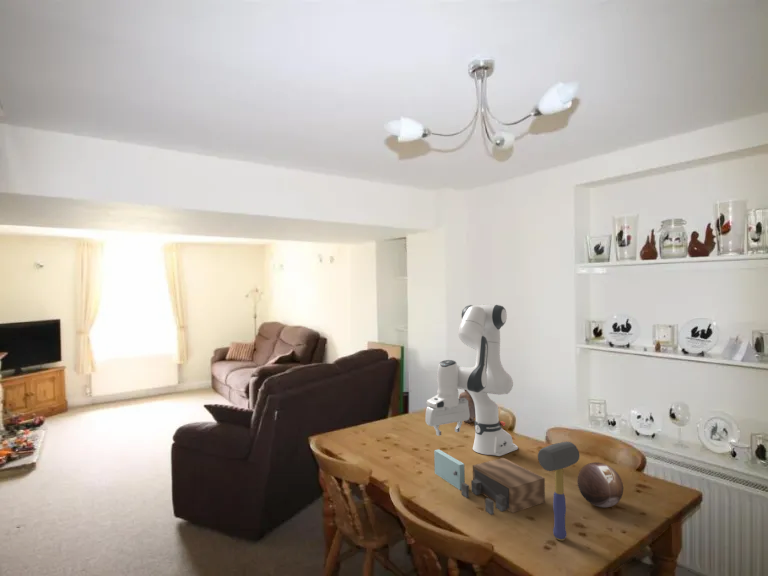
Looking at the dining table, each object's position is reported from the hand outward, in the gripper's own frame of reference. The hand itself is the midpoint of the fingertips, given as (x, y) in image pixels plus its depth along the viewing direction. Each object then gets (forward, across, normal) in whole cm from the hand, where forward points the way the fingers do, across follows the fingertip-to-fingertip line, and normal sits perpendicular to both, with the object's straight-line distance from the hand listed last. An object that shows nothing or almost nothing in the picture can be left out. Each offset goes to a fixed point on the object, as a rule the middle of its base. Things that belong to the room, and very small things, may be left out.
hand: (448, 433), depth 180 cm
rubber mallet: (+20, -7, +51) cm, 55 cm away
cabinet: (+20, -9, +21) cm, 30 cm away
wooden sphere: (+20, -37, +43) cm, 60 cm away
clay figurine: (+19, -57, -59) cm, 84 cm away
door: (+20, 0, 0) cm, 20 cm away
